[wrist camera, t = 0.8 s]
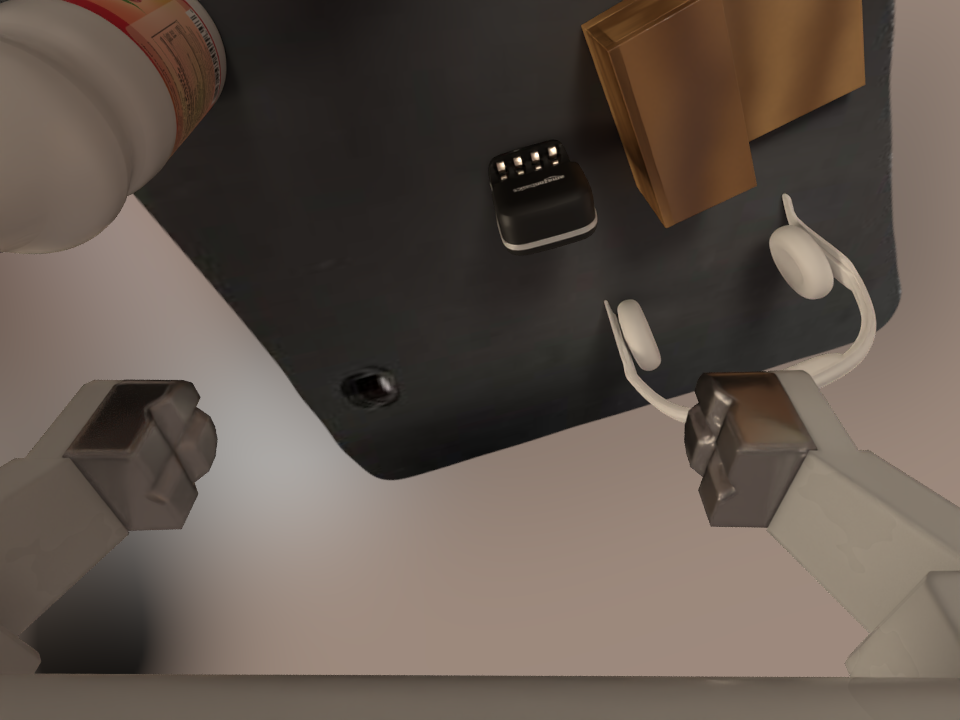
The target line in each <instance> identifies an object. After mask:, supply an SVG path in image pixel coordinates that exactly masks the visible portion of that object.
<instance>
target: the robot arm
mask: <svg viewBox="0 0 960 720" xmlns="http://www.w3.org/2000/svg"><path fill="white" fill-rule="evenodd" d="M695 394H696V396H697V399H698V402H699V403H698V404H696V405H695V406H694V407H692V408H691V409H690V410H689V411H688V415H687V419H686V422H685V438H684V440H685V441H684V442H685V448H686V454H687V457H688V460H689V463H690V467H691V468H692V469H694V470H695V471H696V472H697V473H698V474H700V475H701V476H702V477H703V478H702V481H701V484H700V487H699V490H698V491H699V493H700V496H701V499H702V502H703V505H704V508H705V511H706V514H707V517H708V520H709V523H710V525H711V526H716V527H718V526H719V527H764V528H767V531H768V532H769V533H770V534H771V535H772V536H773V537H774V538H775V539H776V540H777V541H778V542H779V543H780V544H781V545H782V546H783V547H784V548H785V549H786V550H787V551H788V552H789V553H790V554H791V555H792V556H793V557H794V558H795V559H796V560H797V561H798V562H799V563H800V564H801V565H802V566H803V567H804V568H805V569H806V570H807V571H808V572H809V573H810V574H811V575H812V576H813V577H814V578H815V579H816V580H817V581H818V582H819V583H820V584H821V585H822V586H823V587H824V588H825V589H826V590H827V591H828V592H829V593H830V594H831V595H832V596H833V597H834V598H835V599H836V600H837V601H838V602H839V603H840V604H841V605H842V606H843V607H844V608H845V609H846V610H847V611H848V612H849V613H850V614H851V615H852V616H853V617H854V618H855V619H856V620H857V621H858V622H859V623H860V624H861V625H862V626H863V627H864V628H865V629H866V630H867V631H868V632H869V633H870V634H869V635H868V636H867V637H866V638H865V640H864V641H863V642H862V643H861V644H860V645H859V646H858V647H857V648H856V649H855V650H854V651H853V652H852V653H851V654H850V656H849V657H848V659H847V660H846V662H845V665H846V668H847V670H848V672H849V674H850V677H662V676H661V677H660V676H658V677H656V676H654V677H653V676H649V677H648V676H433V675H432V676H430V675H427V676H426V675H424V676H423V675H414V676H413V675H409V676H408V675H188V674H184V675H183V674H182V675H181V674H177V675H176V674H173V675H172V674H171V675H169V674H153V675H152V674H34V673H35V671H36V669H37V668H38V666H39V664H40V662H41V660H40V656H39V653H38V652H37V651H36V650H34V649H33V648H32V647H30V646H29V645H28V644H26V643H25V642H24V641H22V640H21V639H20V638H18V636H19V635H20V634H21V633H22V632H23V631H24V630H25V629H26V628H27V627H28V626H30V625H31V624H32V623H33V622H34V621H35V620H36V619H37V618H38V617H39V616H40V615H42V614H43V613H44V612H45V611H46V610H47V609H48V608H49V607H50V606H51V605H52V604H53V603H54V602H56V601H57V600H58V599H59V598H60V597H61V596H62V595H63V594H64V593H65V592H66V591H67V590H69V589H70V588H71V587H72V586H73V585H74V584H75V583H76V582H77V581H78V580H79V579H81V578H82V577H83V576H84V575H85V574H86V573H87V572H88V571H89V570H90V569H91V568H92V567H94V566H95V565H96V564H97V563H98V562H99V561H100V560H101V559H102V558H103V557H104V556H106V554H108V553H109V552H110V551H111V550H112V549H113V548H114V547H115V546H116V545H117V544H119V543H120V542H121V541H122V540H123V539H124V538H125V537H126V536H127V535H128V534H129V532H128V531H136V530H165V529H166V530H167V529H182V527H183V525H184V523H185V521H186V518H187V517H188V515H189V513H190V510H191V508H192V506H193V504H194V502H195V500H196V498H197V496H198V491H197V488H196V486H195V483H194V482H196V481H197V480H198V479H200V478H201V477H202V476H203V475H205V474H206V473H207V472H209V470H210V468H211V465H212V463H213V461H214V459H215V456H216V447H217V434H216V429H215V425H214V424H213V421H212V419H211V417H210V416H209V415H207V414H206V413H204V412H203V411H201V410H200V409H199V408H197V407H196V406H197V404H198V402H199V399H200V396H199V394H198V392H197V390H196V389H195V387H194V385H193V383H191V382H188V381H184V380H93V381H91V382H89V383H87V384H84V385H83V386H82V387H81V389H80V390H79V391H78V392H77V394H76V395H75V396H74V397H73V399H72V400H71V401H70V402H69V404H68V405H67V406H66V407H65V409H64V410H63V411H62V412H61V414H60V415H59V416H58V417H57V418H56V420H55V421H54V422H53V423H52V425H51V426H50V427H49V428H48V430H47V431H46V432H45V433H44V435H43V436H42V437H41V438H40V440H39V441H38V442H37V444H36V445H35V446H34V447H33V448H32V450H31V451H30V452H29V453H28V455H27V456H26V457H25V458H18V459H17V458H16V459H13V460H11V461H9V462H8V463H6V464H4V465H3V466H1V467H0V720H960V508H959V507H958V506H956V505H955V504H953V503H952V502H950V501H948V500H947V499H945V498H944V497H942V496H941V495H939V494H937V493H936V492H934V491H932V490H931V489H929V488H928V487H926V486H925V485H923V484H922V483H920V482H918V481H917V480H915V479H914V478H912V477H910V476H909V475H907V474H906V473H904V472H903V471H901V470H899V469H898V468H896V467H895V466H893V465H891V464H890V463H888V462H887V461H885V460H884V459H882V458H880V457H879V456H877V455H876V454H874V453H873V452H871V451H869V450H865V451H864V450H858V449H857V447H856V446H855V444H854V442H853V441H852V439H851V438H850V436H849V435H848V433H847V432H846V430H845V428H844V427H843V426H842V424H841V422H840V421H839V419H838V417H837V416H836V414H835V413H834V411H833V410H832V408H831V407H830V405H829V403H828V402H827V400H826V399H825V397H824V396H823V394H822V393H821V391H820V389H819V388H818V386H817V385H816V383H815V382H814V380H813V378H812V377H811V375H810V374H808V373H807V372H805V371H804V370H781V371H768V372H766V371H755V372H709V373H702V375H701V376H700V377H699V379H698V381H697V384H696V388H695Z"/></svg>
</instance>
